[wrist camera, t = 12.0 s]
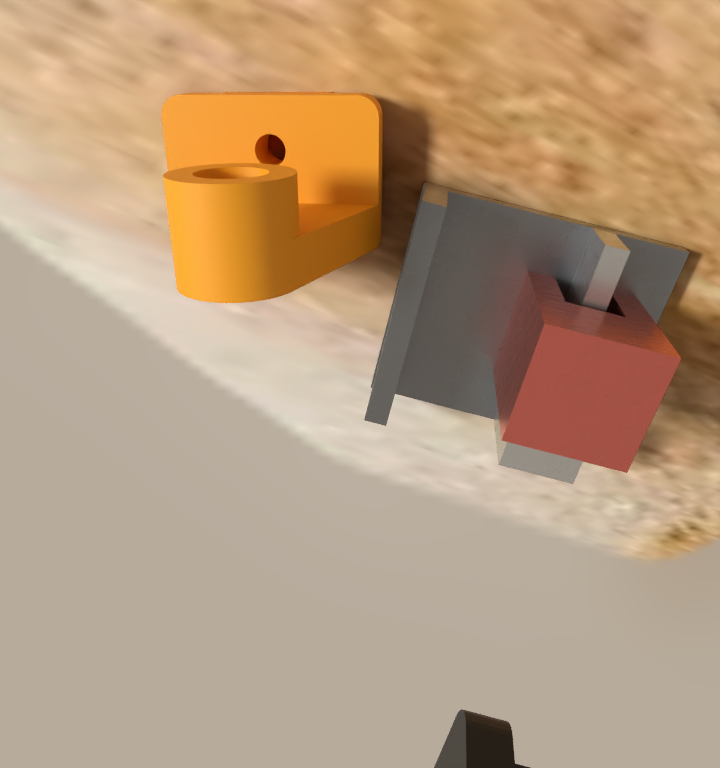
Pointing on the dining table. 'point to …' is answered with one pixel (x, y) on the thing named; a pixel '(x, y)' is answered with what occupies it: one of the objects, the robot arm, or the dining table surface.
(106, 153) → the dining table surface
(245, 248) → the bracket
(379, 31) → the dining table surface
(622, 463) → the block
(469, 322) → the bracket
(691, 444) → the dining table surface
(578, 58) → the dining table surface
